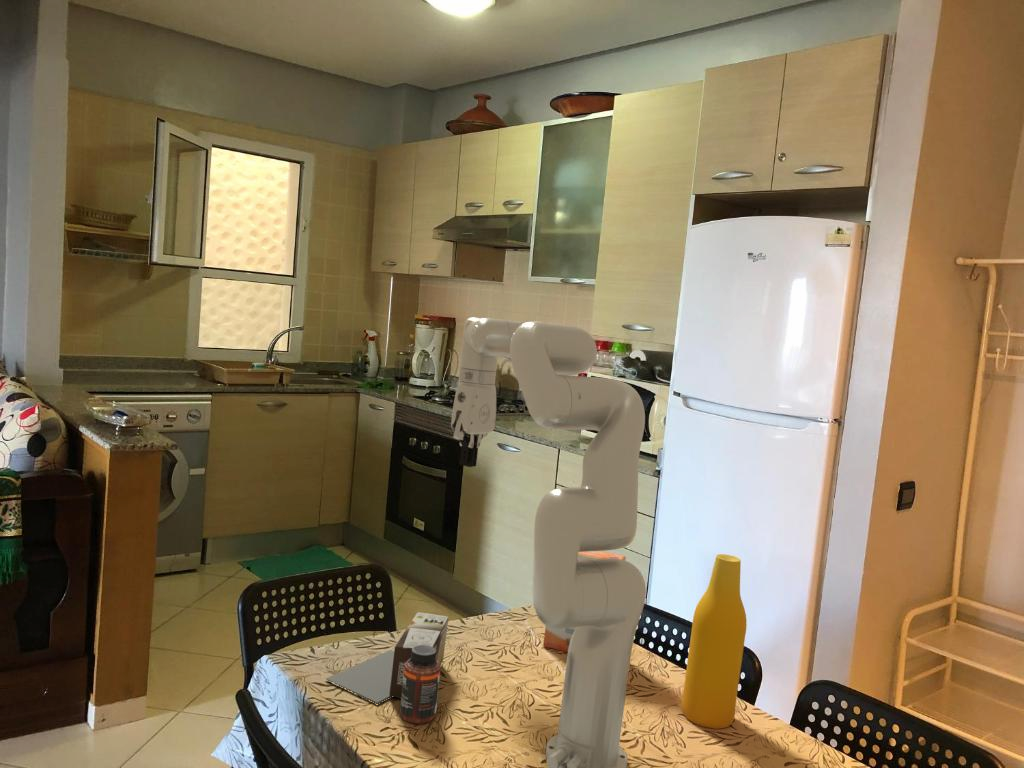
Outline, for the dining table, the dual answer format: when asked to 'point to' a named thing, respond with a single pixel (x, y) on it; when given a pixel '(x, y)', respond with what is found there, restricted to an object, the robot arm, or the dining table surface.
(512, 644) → the dining table surface
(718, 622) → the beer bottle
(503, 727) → the dining table surface
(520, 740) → the dining table surface
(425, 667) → the supplement bottle
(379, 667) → the mat
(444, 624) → the coffee box
